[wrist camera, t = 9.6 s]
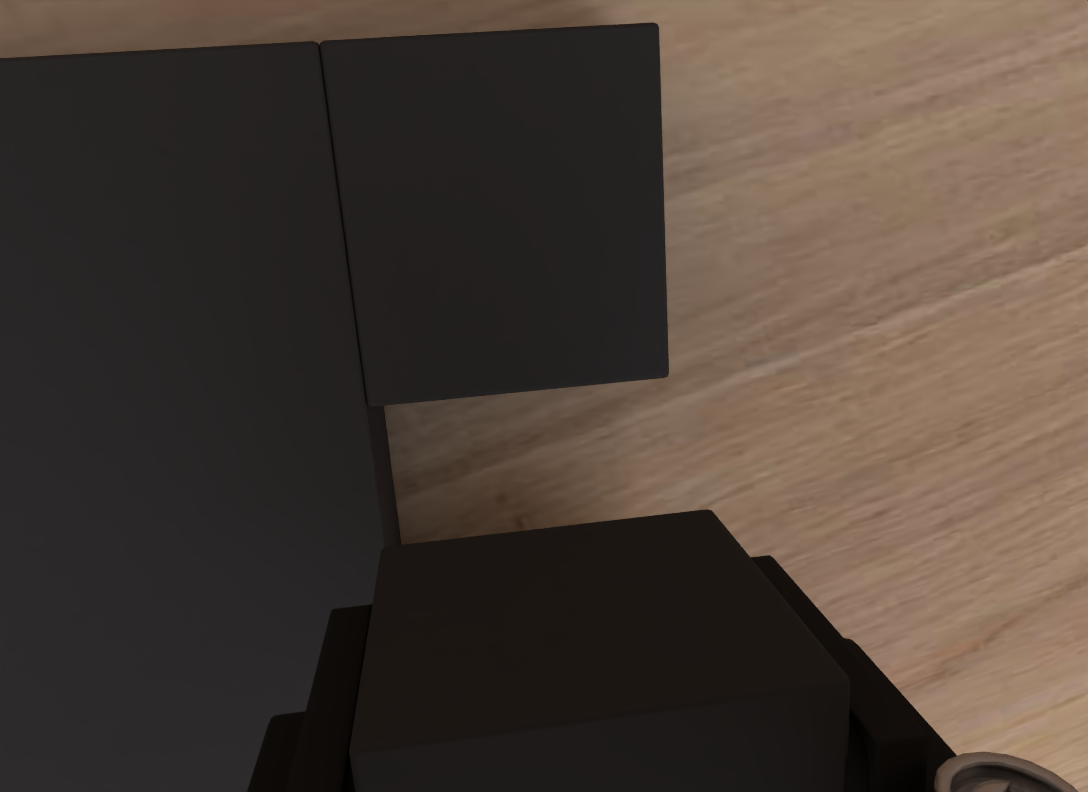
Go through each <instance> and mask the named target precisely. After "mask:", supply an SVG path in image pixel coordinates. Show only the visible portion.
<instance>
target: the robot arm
mask: <svg viewBox="0 0 1088 792" xmlns="http://www.w3.org/2000/svg"><path fill="white" fill-rule="evenodd" d="M751 559H752V560H753V561H754V563H755V564H756V565H757V566H758V567H759V569H760V570H761V571H762V572H763V574H764V575H765V576H766V577H767V578H768V580H769V581H770V582H771V583H772V585H773V586H774V587H775V588H776V589H777V591H778V592H779V593H780V594H781V595H782V597H783V598H784V599H785V600H786V602H787V603H788V604H789V605H790V606H791V608H792V609H793V610H794V611H795V613H796V614H797V615H798V616H799V617H800V619H801V620H802V621H803V622H804V624H805V625H806V626H807V627H808V628H809V630H810V631H811V632H812V633H813V634H814V636H815V637H816V638H817V639H818V641H819V642H820V643H821V644H822V645H823V647H824V648H825V649H826V650H827V652H828V653H829V654H830V655H831V656H832V658H833V659H834V660H835V661H836V663H837V664H838V665H839V666H840V667H841V669H842V670H843V671H844V672H845V673H846V675H847V676H848V678H849V680H850V708H849V736H848V758H847V759H846V772H845V792H1078V791H1077V790H1076V789H1075V788H1074V787H1073V786H1072V785H1070V784H1069V783H1068V782H1066V781H1065V780H1063V779H1062V778H1061V777H1059V776H1058V775H1056V774H1055V773H1053V772H1052V771H1049V770H1047V769H1045V768H1043V767H1041V766H1039V765H1037V764H1035V763H1033V762H1031V761H1027V760H1024V759H1021V758H1017V757H1014V756H1010V755H1007V754H999V753H990V752H975V753H963V754H961V755H958V756H957V755H956V754H955V753H954V752H953V751H952V750H951V748H950V747H949V746H948V745H947V744H946V743H945V742H944V741H943V740H942V738H941V737H940V736H939V735H938V734H937V733H936V732H935V731H934V729H933V728H932V727H931V726H930V725H929V724H928V723H927V722H926V721H925V719H924V718H923V717H922V716H921V715H920V714H919V713H918V712H917V710H916V709H915V708H914V707H913V706H912V705H911V704H910V703H909V702H908V700H907V699H906V698H905V697H904V696H903V695H902V694H901V693H900V691H899V690H898V689H897V688H896V687H895V686H894V685H893V684H892V683H891V681H890V680H889V679H888V678H887V677H886V676H885V675H884V674H883V672H882V671H881V670H880V669H879V668H878V667H877V666H876V665H875V664H874V662H873V661H872V660H871V659H870V658H869V657H868V656H867V655H866V653H865V652H864V651H863V650H862V649H861V648H860V647H859V646H858V645H857V644H856V643H855V642H854V641H852V640H851V639H846V638H843V637H842V636H841V635H840V633H839V632H838V631H837V630H836V629H835V628H834V627H833V625H832V624H831V623H830V622H829V621H828V620H827V619H826V618H825V616H824V615H823V614H822V613H821V612H820V611H819V610H818V608H817V607H816V606H815V605H814V604H813V603H812V602H811V600H810V599H809V598H808V597H807V596H806V595H805V594H804V592H803V591H802V590H801V589H800V588H799V587H798V586H797V584H796V583H795V582H794V581H793V580H792V579H791V578H790V576H789V575H788V574H787V573H786V572H785V571H784V570H783V568H782V567H781V566H780V565H779V564H778V563H777V562H776V560H775V559H774V558H773V557H771V556H770V555H767V556H759V557H751ZM371 610H372V604H369V605H361V606H353V607H345V608H337V609H332V610H331V613H330V617H329V621H328V625H327V629H326V633H325V637H324V640H323V644H322V648H321V652H320V656H319V660H318V664H317V668H316V672H315V676H314V680H313V684H312V688H311V692H310V696H309V700H308V704H307V708H306V711H302V712H295V713H288V714H280V715H275V716H273V717H272V718H271V720H270V722H269V724H268V726H267V730H266V733H265V736H264V739H263V742H262V746H261V749H260V752H259V755H258V758H257V761H256V765H255V768H254V771H253V774H252V777H251V780H250V784H249V787H248V790H247V792H355V787H354V780H353V774H352V767H351V761H350V755H349V748H350V742H351V736H352V730H353V723H354V717H355V711H356V704H357V698H358V692H359V685H360V679H361V673H362V667H363V660H364V654H365V648H366V641H367V635H368V629H369V623H370V616H371Z"/></svg>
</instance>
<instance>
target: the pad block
mask: <svg viewBox="0 0 1088 792" xmlns="http://www.w3.org/2000/svg"><path fill="white" fill-rule="evenodd" d="M849 708H850V680H849V678H848V676H847V675H846V673H845V672H844V671H843V670H842V669H841V667H840V666H839V665H838V664H837V663H836V661H835V660H834V659H833V658H832V656H831V655H830V654H829V653H828V652H827V650H826V649H825V648H824V647H823V645H822V644H821V643H820V642H819V641H818V639H817V638H816V637H815V636H814V634H813V633H812V632H811V631H810V630H809V628H808V627H807V626H806V625H805V624H804V622H803V621H802V620H801V619H800V617H799V616H798V615H797V614H796V613H795V611H794V610H793V609H792V608H791V606H790V605H789V604H788V603H787V602H786V600H785V599H784V598H783V597H782V595H781V594H780V593H779V592H778V591H777V589H776V588H775V587H774V586H773V585H772V583H771V582H770V581H769V580H768V578H767V577H766V576H765V575H764V574H763V572H762V571H761V570H760V569H759V567H758V566H757V565H756V564H755V563H754V561H753V560H752V559H751V558H750V556H749V555H748V554H747V553H746V552H745V550H744V549H743V548H742V547H741V546H740V544H739V543H738V542H737V541H736V539H735V538H734V537H733V536H732V535H731V533H730V532H729V531H728V530H727V528H726V527H725V526H724V525H723V524H722V522H721V521H720V520H719V519H718V517H717V516H716V515H715V514H714V513H713V511H712V510H708V509H706V510H697V511H689V512H680V513H672V514H663V515H654V516H646V517H637V518H629V519H620V520H612V521H603V522H594V523H586V524H577V525H569V526H560V527H551V528H543V529H534V530H526V531H517V532H509V533H500V534H491V535H483V536H474V537H466V538H457V539H448V540H440V541H431V542H423V543H414V544H406V545H397V546H388V547H385V548H383V549H382V550H381V553H380V560H379V566H378V572H377V578H376V585H375V591H374V597H373V604H372V610H371V616H370V623H369V629H368V635H367V641H366V648H365V654H364V660H363V667H362V673H361V679H360V685H359V692H358V698H357V704H356V711H355V717H354V723H353V730H352V736H351V742H350V748H349V755H350V761H351V767H352V774H353V780H354V787H355V792H845V772H846V759H847V758H848V736H849Z"/></svg>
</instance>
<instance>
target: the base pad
mask: <svg viewBox="0 0 1088 792" xmlns="http://www.w3.org/2000/svg"><path fill="white" fill-rule="evenodd" d="M668 374H669V359H668V325H667V290H666V255H665V221H664V186H663V151H662V117H661V82H660V47H659V27H658V24H656V23H637V24H619V25H600V26H582V27H564V28H546V29H527V30H509V31H491V32H473V33H454V34H436V35H418V36H400V37H381V38H363V39H345V40H327V41H323V42H321V43H320V45H319V44H318V43H317V42H314V41H309V42H291V43H272V44H254V45H236V46H218V47H199V48H181V49H163V50H145V51H126V52H108V53H90V54H72V55H53V56H35V57H17V58H0V792H247V790H248V787H249V784H250V780H251V777H252V774H253V771H254V768H255V765H256V761H257V758H258V755H259V752H260V749H261V746H262V742H263V739H264V736H265V733H266V730H267V726H268V724H269V722H270V720H271V718H272V717H273V716H275V715H280V714H288V713H295V712H302V711H306V708H307V704H308V700H309V696H310V692H311V688H312V684H313V680H314V676H315V672H316V668H317V664H318V660H319V656H320V652H321V648H322V644H323V640H324V637H325V633H326V629H327V625H328V621H329V617H330V613H331V610H332V609H337V608H345V607H353V606H361V605H369V604H373V597H374V591H375V585H376V578H377V572H378V566H379V560H380V553H381V550H382V549H383V548H385V547H388V546H397V545H401V539H400V531H399V523H398V515H397V508H396V500H395V492H394V484H393V476H392V468H391V460H390V453H389V445H388V437H387V429H386V421H385V413H384V405H393V404H403V403H413V402H423V401H434V400H444V399H454V398H464V397H474V396H484V395H495V394H505V393H515V392H525V391H535V390H546V389H556V388H566V387H576V386H586V385H596V384H607V383H617V382H627V381H637V380H647V379H658V378H665V377H667V376H668Z"/></svg>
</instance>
